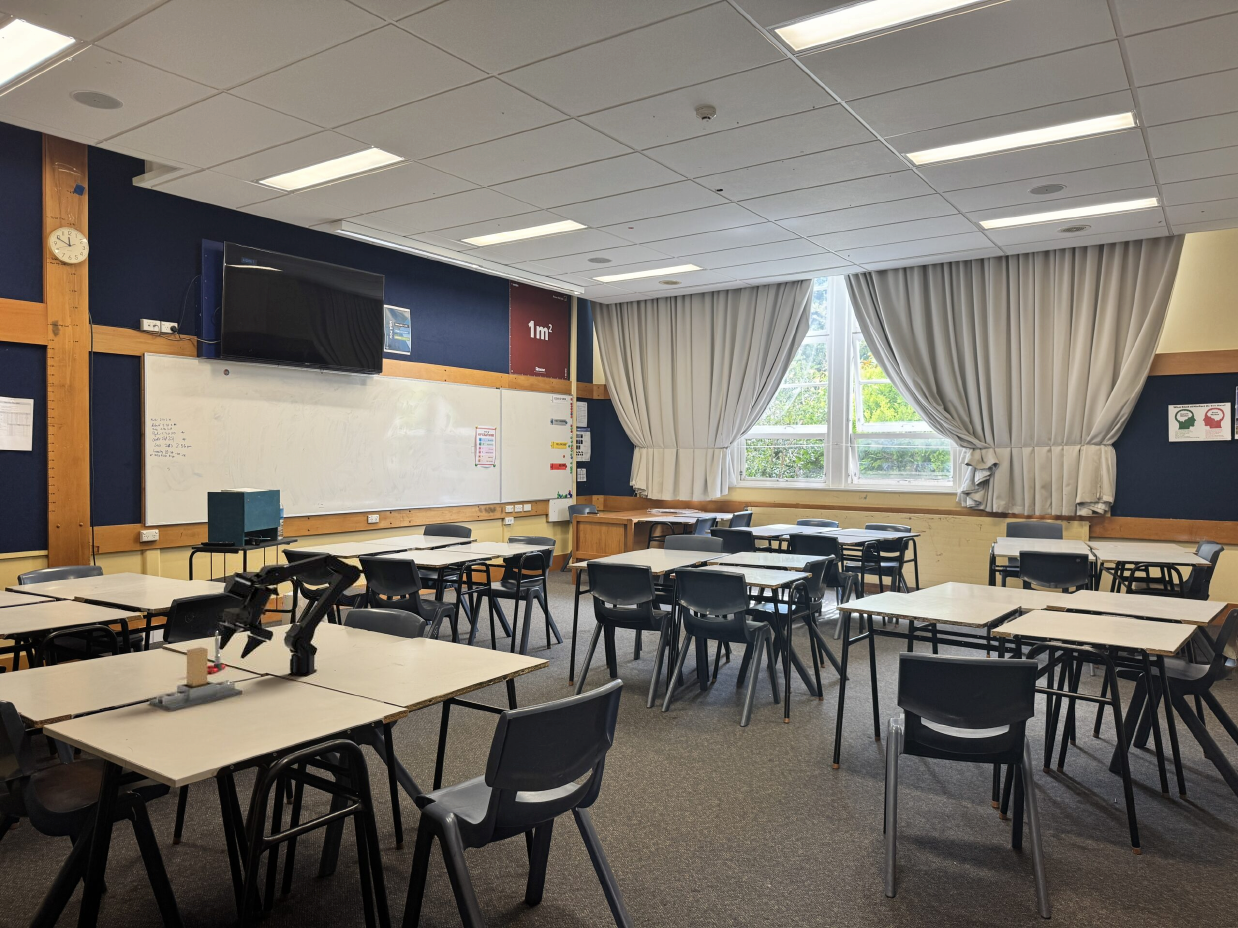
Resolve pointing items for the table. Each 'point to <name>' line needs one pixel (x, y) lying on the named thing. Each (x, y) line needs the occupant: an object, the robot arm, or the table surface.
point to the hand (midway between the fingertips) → (231, 653)
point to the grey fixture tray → (195, 695)
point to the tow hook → (216, 658)
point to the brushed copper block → (197, 667)
